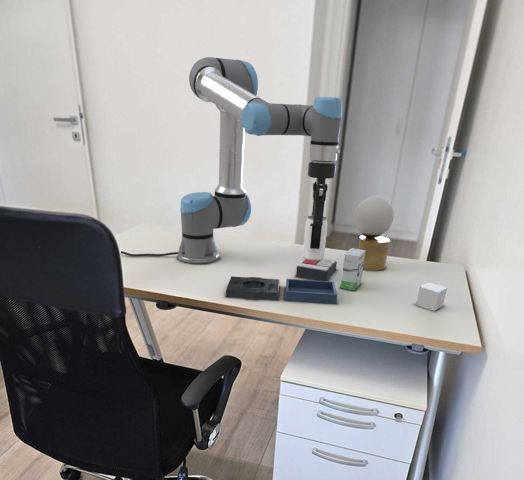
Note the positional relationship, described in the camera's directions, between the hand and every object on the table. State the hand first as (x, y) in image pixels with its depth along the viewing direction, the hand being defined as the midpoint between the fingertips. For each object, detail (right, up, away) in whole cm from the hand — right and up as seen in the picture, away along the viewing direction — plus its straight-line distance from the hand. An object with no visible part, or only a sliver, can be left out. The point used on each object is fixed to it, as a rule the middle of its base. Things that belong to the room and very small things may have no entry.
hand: (314, 244), depth 131 cm
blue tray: (-1, -14, +8) cm, 16 cm away
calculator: (+4, -4, +27) cm, 28 cm away
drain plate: (-18, -13, +9) cm, 24 cm away
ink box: (+14, -10, +17) cm, 24 cm away
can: (0, -4, +2) cm, 4 cm away
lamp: (+25, +2, +38) cm, 46 cm away
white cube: (+36, -18, +5) cm, 41 cm away
